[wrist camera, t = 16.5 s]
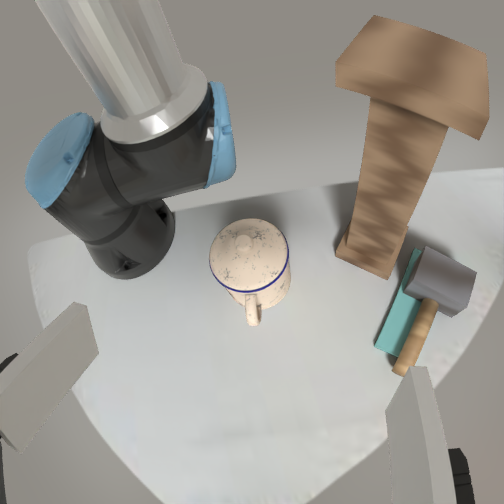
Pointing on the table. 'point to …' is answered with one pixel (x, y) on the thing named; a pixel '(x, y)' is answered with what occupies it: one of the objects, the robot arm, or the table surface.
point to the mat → (399, 316)
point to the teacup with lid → (252, 265)
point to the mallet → (433, 298)
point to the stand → (404, 126)
